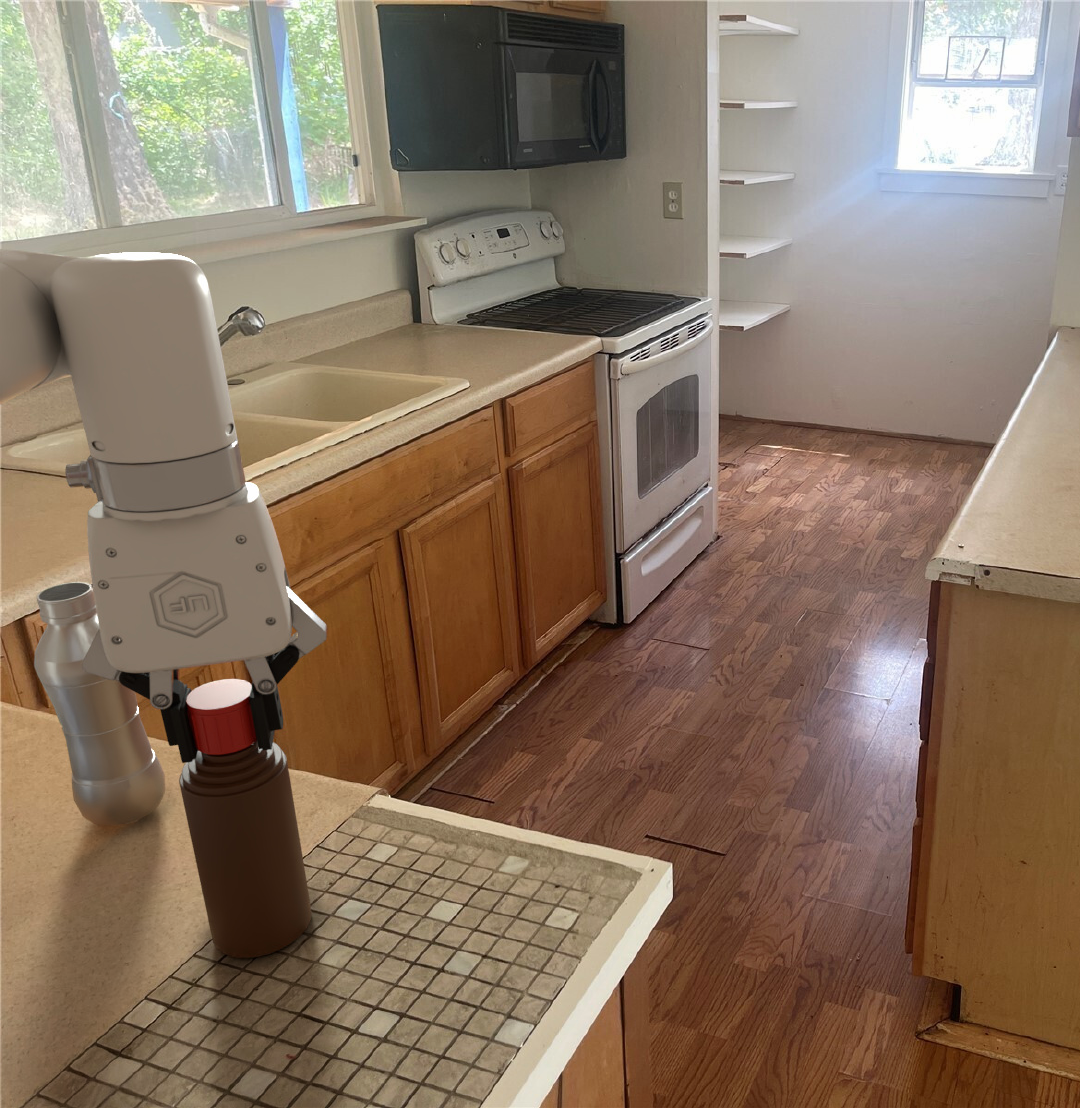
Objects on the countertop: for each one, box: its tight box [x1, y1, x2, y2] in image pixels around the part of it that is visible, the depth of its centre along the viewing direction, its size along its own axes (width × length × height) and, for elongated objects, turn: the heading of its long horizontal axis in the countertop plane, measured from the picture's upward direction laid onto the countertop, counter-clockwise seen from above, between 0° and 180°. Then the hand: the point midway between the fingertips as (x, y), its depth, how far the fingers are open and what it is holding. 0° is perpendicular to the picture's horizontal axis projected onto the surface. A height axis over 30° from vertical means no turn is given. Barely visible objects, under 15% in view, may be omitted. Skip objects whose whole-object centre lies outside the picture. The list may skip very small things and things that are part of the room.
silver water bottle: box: [33, 581, 166, 827], centre depth 81 cm, size 6×7×20 cm
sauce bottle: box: [178, 740, 313, 959], centre depth 69 cm, size 6×6×18 cm
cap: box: [186, 678, 257, 755], centre depth 66 cm, size 4×4×3 cm
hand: (230, 742), depth 67 cm, fingers closed on cap, 3 cm apart
